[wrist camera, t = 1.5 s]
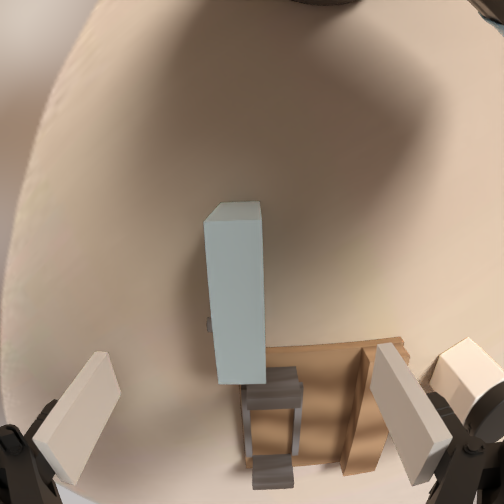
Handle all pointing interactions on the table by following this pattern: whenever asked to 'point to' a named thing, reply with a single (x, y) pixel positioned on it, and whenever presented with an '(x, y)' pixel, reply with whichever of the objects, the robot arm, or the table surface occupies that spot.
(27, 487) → the robot arm
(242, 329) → the door
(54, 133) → the table surface
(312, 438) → the brown piece
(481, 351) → the jar
